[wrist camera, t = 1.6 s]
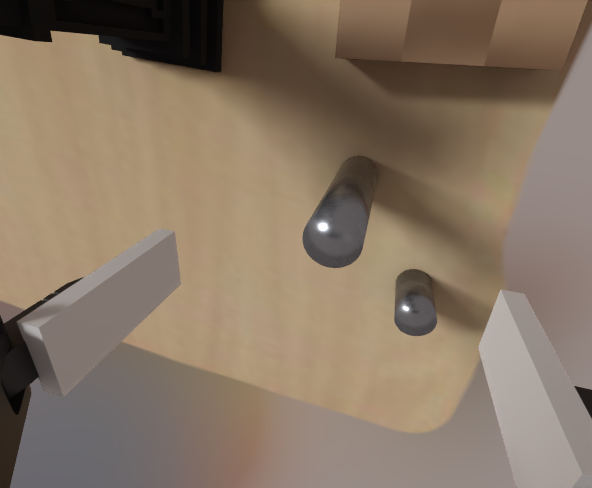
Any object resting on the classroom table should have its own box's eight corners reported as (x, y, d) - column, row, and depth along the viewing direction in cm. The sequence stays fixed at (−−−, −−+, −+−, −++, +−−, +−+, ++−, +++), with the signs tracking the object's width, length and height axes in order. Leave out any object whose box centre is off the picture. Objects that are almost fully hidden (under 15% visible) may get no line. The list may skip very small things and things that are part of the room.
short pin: (399, 266, 30) (398, 300, 26) (435, 272, 30) (441, 308, 25) (392, 294, 32) (391, 331, 27) (427, 301, 31) (431, 339, 27)
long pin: (341, 153, 27) (304, 208, 17) (380, 158, 27) (367, 218, 16) (337, 190, 29) (300, 262, 18) (374, 195, 28) (358, 272, 18)
